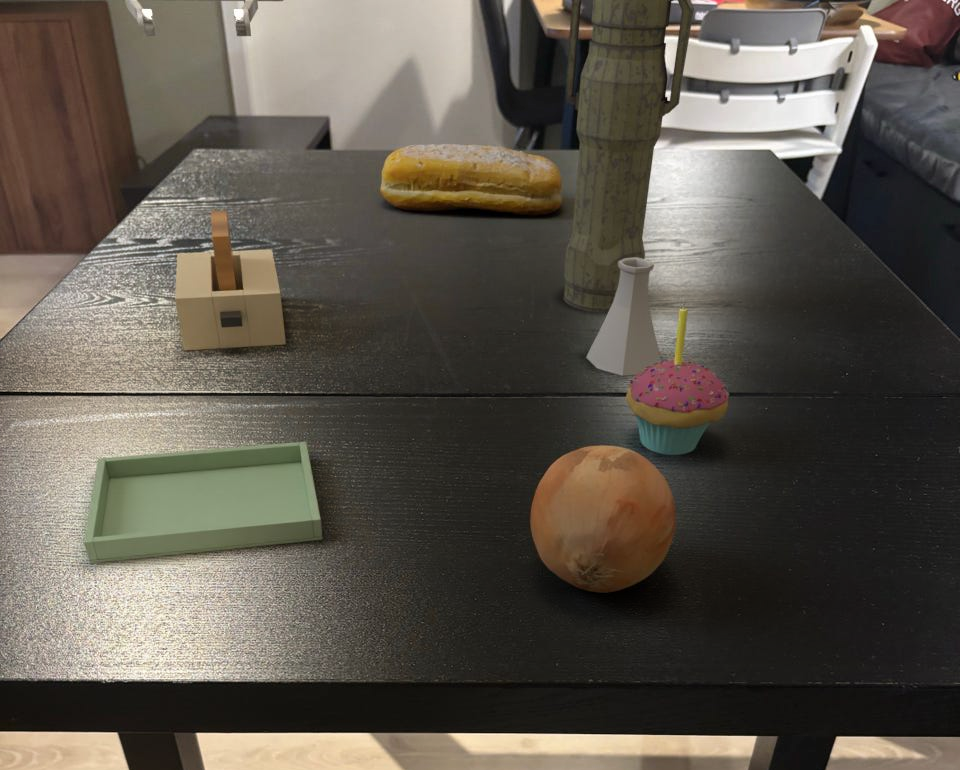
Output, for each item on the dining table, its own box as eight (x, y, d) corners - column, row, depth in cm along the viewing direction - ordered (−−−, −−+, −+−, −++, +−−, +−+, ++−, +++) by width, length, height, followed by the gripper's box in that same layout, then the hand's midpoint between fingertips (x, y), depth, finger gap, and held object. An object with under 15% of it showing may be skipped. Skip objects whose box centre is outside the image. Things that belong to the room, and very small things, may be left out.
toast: (225, 307, 103) (210, 210, 96) (239, 306, 103) (226, 210, 96) (226, 338, 96) (211, 236, 89) (242, 337, 96) (228, 235, 90)
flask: (621, 383, 92) (634, 279, 85) (573, 358, 96) (582, 258, 90) (674, 367, 95) (690, 266, 89) (625, 344, 99) (637, 246, 93)
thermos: (650, 319, 105) (706, -71, 83) (546, 310, 107) (573, -76, 84) (652, 293, 112) (705, -75, 90) (554, 285, 113) (582, -80, 91)
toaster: (186, 309, 104) (177, 253, 100) (278, 304, 106) (272, 249, 102) (185, 365, 92) (174, 304, 89) (287, 358, 94) (281, 298, 90)
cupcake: (608, 425, 85) (625, 291, 77) (697, 419, 86) (722, 287, 78) (638, 471, 78) (659, 330, 70) (734, 465, 79) (765, 325, 72)
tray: (90, 566, 66) (83, 542, 64) (103, 480, 75) (97, 458, 73) (323, 542, 69) (320, 519, 67) (308, 463, 78) (306, 441, 76)
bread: (384, 193, 144) (382, 135, 139) (556, 197, 144) (560, 140, 139) (378, 218, 133) (376, 157, 128) (563, 222, 134) (568, 161, 129)
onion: (658, 543, 70) (679, 419, 63) (670, 625, 62) (696, 494, 56) (528, 535, 70) (536, 411, 64) (524, 617, 62) (533, 485, 56)
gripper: (64, -125, 91) (80, 7, 90) (278, -119, 95) (296, 8, 93) (80, -70, 97) (95, 55, 96) (281, -66, 101) (297, 54, 100)
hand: (196, 32), depth 95 cm, fingers open, 8 cm apart
